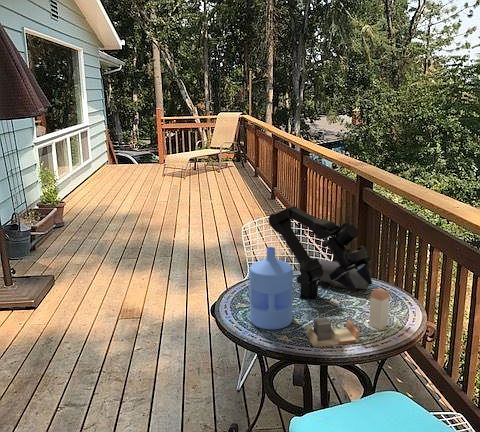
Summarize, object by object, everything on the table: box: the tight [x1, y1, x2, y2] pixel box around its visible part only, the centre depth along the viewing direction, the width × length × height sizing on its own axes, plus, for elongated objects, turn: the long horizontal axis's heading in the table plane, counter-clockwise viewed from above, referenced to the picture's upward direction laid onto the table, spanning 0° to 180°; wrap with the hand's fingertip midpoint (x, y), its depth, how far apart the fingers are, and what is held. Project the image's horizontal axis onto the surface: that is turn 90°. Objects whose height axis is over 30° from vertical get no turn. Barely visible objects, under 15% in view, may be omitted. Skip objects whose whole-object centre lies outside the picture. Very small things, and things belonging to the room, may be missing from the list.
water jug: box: [248, 246, 294, 331], centre depth 177 cm, size 16×16×28 cm
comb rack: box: [306, 316, 360, 348], centre depth 166 cm, size 8×16×7 cm, turn 101°
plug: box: [368, 288, 391, 331], centre depth 173 cm, size 4×4×13 cm
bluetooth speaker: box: [318, 259, 372, 290], centre depth 207 cm, size 23×9×10 cm, turn 58°
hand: (363, 287), depth 177 cm, fingers open, 9 cm apart
